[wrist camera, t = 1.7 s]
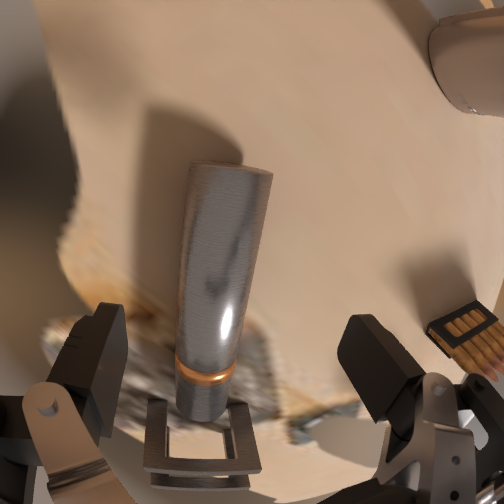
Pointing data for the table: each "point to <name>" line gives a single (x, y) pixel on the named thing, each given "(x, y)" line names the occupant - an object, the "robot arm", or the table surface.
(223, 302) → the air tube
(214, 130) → the table surface
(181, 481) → the dark grey rectangular frame
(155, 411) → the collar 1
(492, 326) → the ammunition clip
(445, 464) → the robot arm
